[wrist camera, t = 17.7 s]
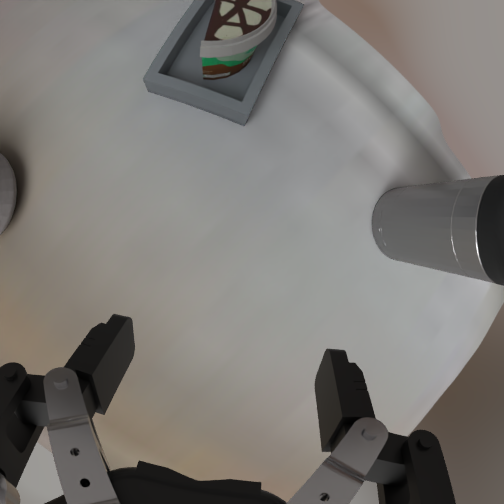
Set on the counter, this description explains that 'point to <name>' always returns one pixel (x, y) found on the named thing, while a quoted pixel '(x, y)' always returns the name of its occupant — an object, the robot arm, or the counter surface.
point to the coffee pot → (6, 193)
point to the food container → (235, 35)
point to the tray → (190, 64)
